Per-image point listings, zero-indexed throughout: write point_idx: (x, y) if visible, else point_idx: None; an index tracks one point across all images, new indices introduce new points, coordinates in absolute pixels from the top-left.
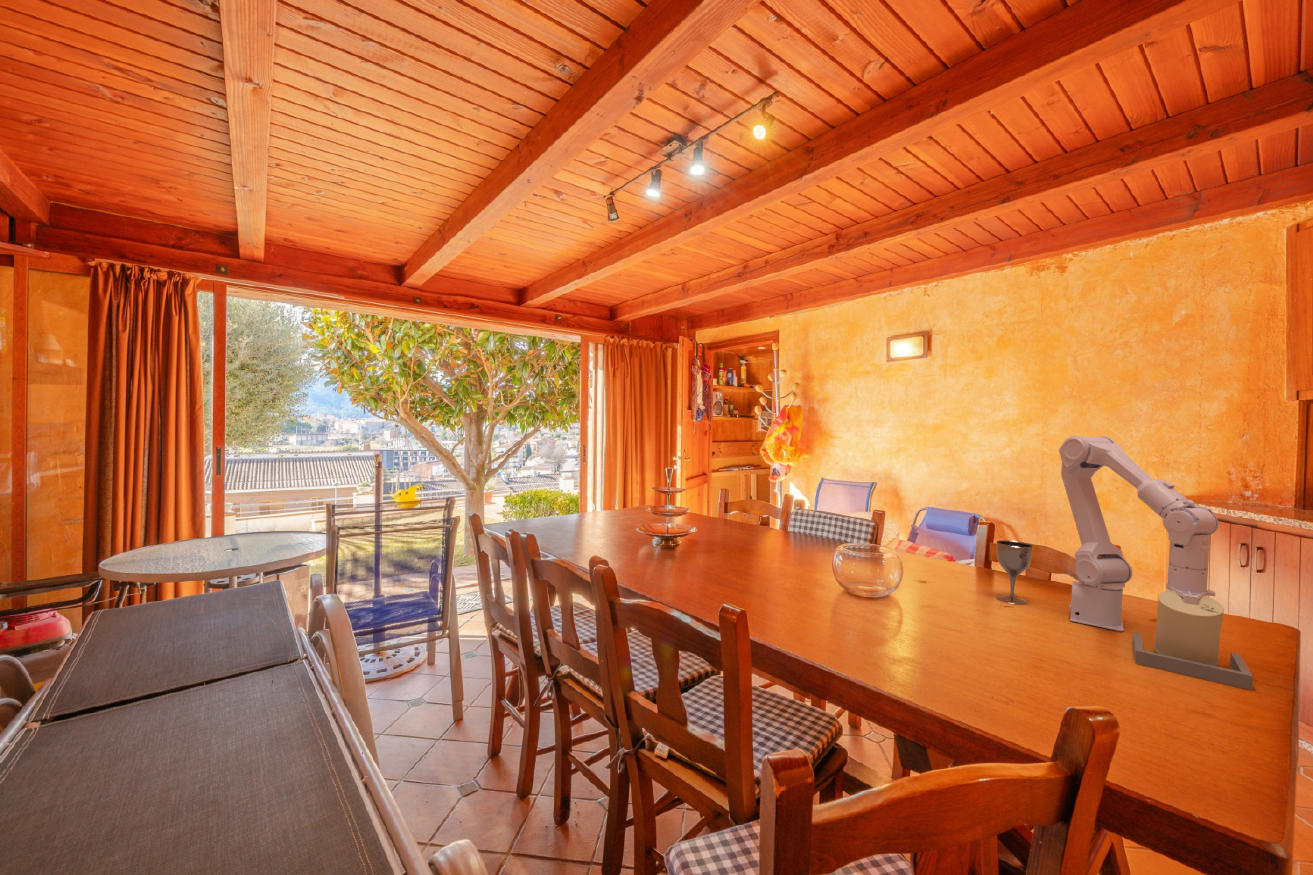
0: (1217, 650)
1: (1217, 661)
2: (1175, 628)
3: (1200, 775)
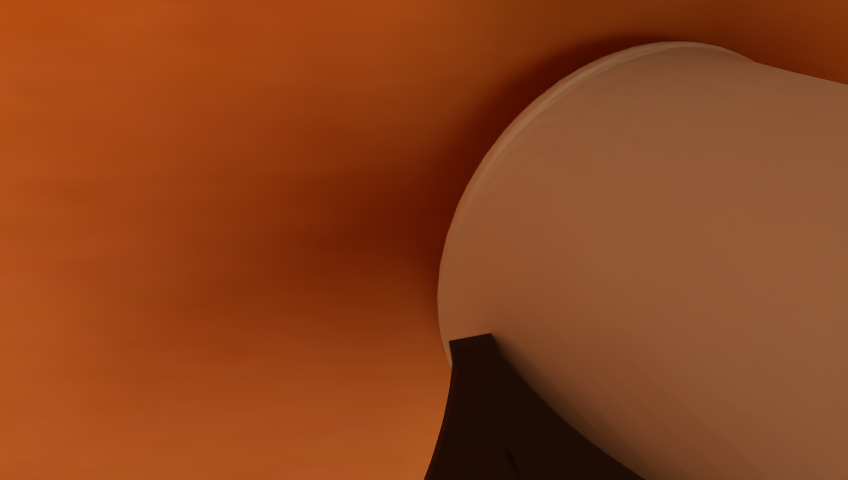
0: (842, 83)
1: (712, 51)
2: None
3: None
